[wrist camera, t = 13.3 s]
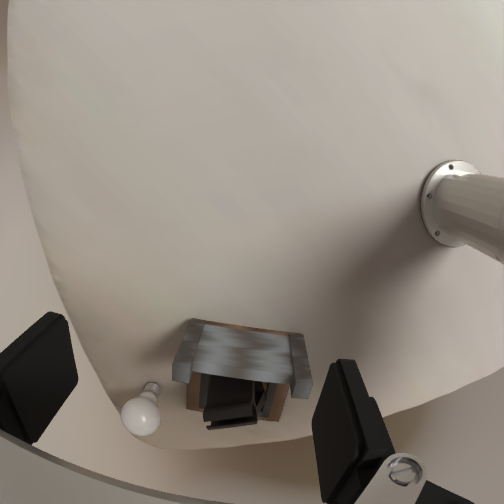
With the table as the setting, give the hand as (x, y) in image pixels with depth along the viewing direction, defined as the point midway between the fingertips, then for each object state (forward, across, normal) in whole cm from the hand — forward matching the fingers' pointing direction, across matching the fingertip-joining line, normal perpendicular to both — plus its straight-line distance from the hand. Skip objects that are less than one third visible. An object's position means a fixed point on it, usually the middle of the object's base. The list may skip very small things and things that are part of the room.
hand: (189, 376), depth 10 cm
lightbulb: (+32, +12, +31) cm, 46 cm away
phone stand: (+30, -2, +24) cm, 39 cm away
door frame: (+32, -2, +25) cm, 41 cm away
